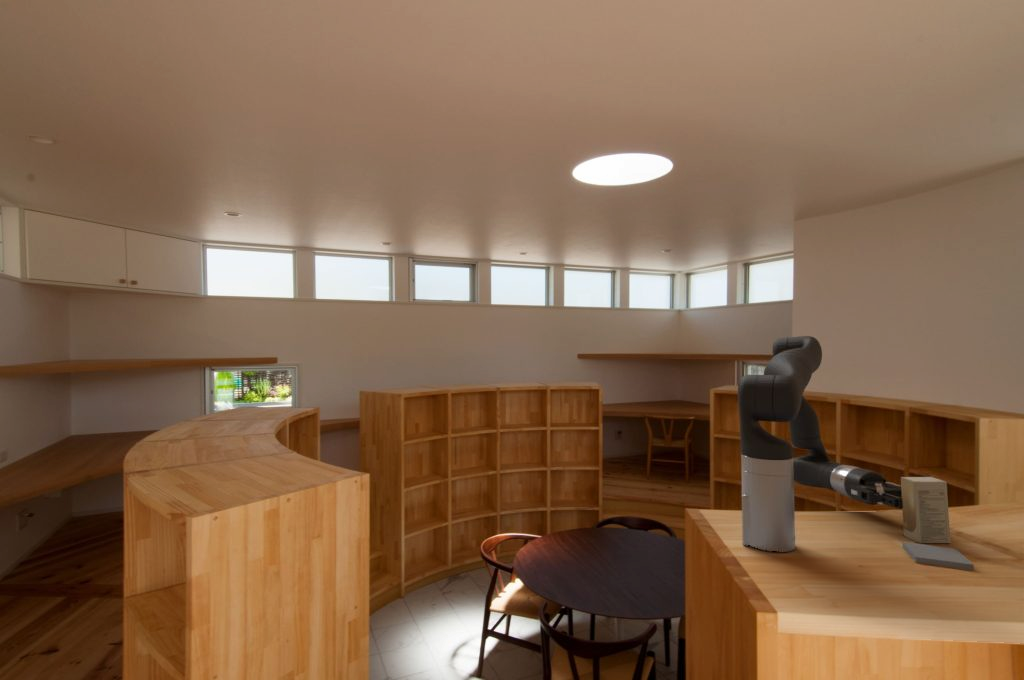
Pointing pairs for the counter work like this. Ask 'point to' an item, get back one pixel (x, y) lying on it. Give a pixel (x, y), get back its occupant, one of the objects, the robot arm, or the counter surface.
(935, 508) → the skincare box
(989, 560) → the counter surface
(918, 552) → the grey square slab
